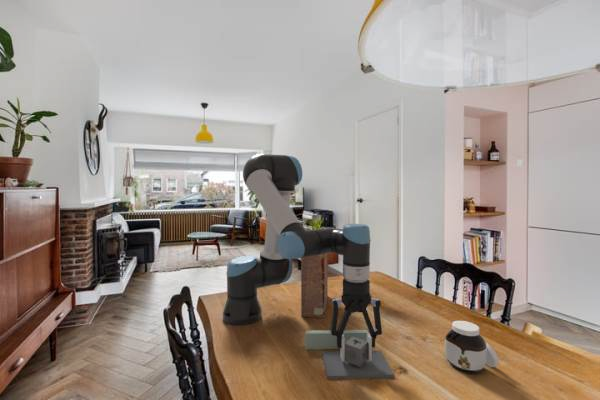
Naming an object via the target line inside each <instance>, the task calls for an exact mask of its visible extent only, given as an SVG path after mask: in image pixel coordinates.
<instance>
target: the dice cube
mask: <svg viewBox="0 0 600 400" xmlns="http://www.w3.org/2000/svg"><path fill="white" fill-rule="evenodd" d="M367 359H368V342H367V341H364V340H362V339H359V338H356V337H353V336H352V337H351V338H350V339H349V340H348V341H346V342H345V361H346V362H349V363H351V364H354V365H356V366H359V367H361V366H362V365H363V364H364V363H365V361H366V360H367Z"/></svg>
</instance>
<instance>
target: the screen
mask: <svg viewBox="0 0 600 400" xmlns="http://www.w3.org/2000/svg"><path fill="white" fill-rule="evenodd" d="M367 333H369V334H370V332H369V329H345V330H344V332H343V335H344V338H345V342H346V341H348V340H349V339H350V338H351V337H352V336H353V337H356V338H359V339H362V340H364V341H367ZM304 338H305V339H304V340H305V343H304V344H305V350H332V349H333V350H334V349H335V350H340V348H338V347H337V336H335V335H334V336H333V335H332V334H331V330H330V329H328V330H327V329H326V330H321V329H319V330H315V329H314V330H305V337H304Z"/></svg>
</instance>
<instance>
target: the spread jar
mask: <svg viewBox="0 0 600 400" xmlns="http://www.w3.org/2000/svg"><path fill="white" fill-rule="evenodd" d="M444 354H445V358H446V360H447V361H448V362H449V364H450V365H451V366H452V367H453V368H455V369H456V370H458V371H460V372H463V373H466V374H477V373H479V372H481V371H483V369H484V368H485V366H486V365H487V366H489V367H491V368H495V367H496V366H499V364H500V359H499V356H498V355H497V353H496V351H495V350H494V349H493V347H492V345H490V344H489V343H488V342H486V341H485V338H483V336H482V335H481V334H480V327H479V326H478V325H477V324H475V323H473V322H470V321H468V320H467V321H466V320H454V321H453V322H451V329H450V330H449V331H448V332H447V333H446V335H445V339H444Z"/></svg>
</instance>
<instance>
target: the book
mask: <svg viewBox="0 0 600 400" xmlns="http://www.w3.org/2000/svg"><path fill="white" fill-rule="evenodd" d="M328 254H329V253H327V254H321V255H313V256H307V257H301V258H300V260H301V262H300V265H301V266H300V271H301V272H300V273H301V275H300V278H301V279H300V280H301V281H300V282H301V283H300V284H301V285H300V289H301V290H300V295H301V296H300V298H301V302H300V307H301V308H300V309H301V311H300V313H301V315H300V316H301V317H303V318H305V317H307V318H319V319H320V318H322V319H323V318H324V319H325V317H326V311H327V310H326V309H327V303H328V302H327V301H328V296H329V295H328V282H329V281H328V275H329V274H328V273H329V271H328V270H329V269H328V268H329V267H328V259H329V257H328Z"/></svg>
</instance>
